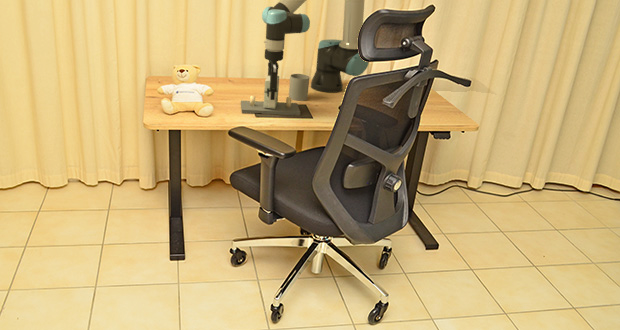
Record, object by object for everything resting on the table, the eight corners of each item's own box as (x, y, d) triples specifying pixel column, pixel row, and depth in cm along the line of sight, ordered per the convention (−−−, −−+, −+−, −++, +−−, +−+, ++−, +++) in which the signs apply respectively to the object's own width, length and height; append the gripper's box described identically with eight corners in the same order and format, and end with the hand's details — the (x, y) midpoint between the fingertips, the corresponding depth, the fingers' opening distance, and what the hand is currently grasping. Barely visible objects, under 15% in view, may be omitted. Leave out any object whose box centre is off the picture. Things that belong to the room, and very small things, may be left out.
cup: (304, 102, 266) (307, 80, 262) (286, 99, 267) (288, 77, 263) (308, 96, 274) (310, 75, 270) (291, 94, 275) (293, 72, 271)
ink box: (266, 101, 255) (268, 74, 251) (277, 102, 255) (279, 75, 250) (262, 107, 247) (264, 79, 243) (274, 109, 247) (276, 81, 242)
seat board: (296, 106, 259) (297, 94, 257) (300, 115, 248) (301, 103, 246) (240, 103, 255) (241, 91, 253) (241, 113, 244) (242, 100, 242)
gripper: (263, 42, 251) (259, 94, 260) (267, 55, 231) (263, 111, 240) (281, 43, 252) (277, 95, 261) (286, 56, 232) (282, 111, 241)
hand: (270, 102), depth 251 cm, fingers closed on ink box, 9 cm apart
